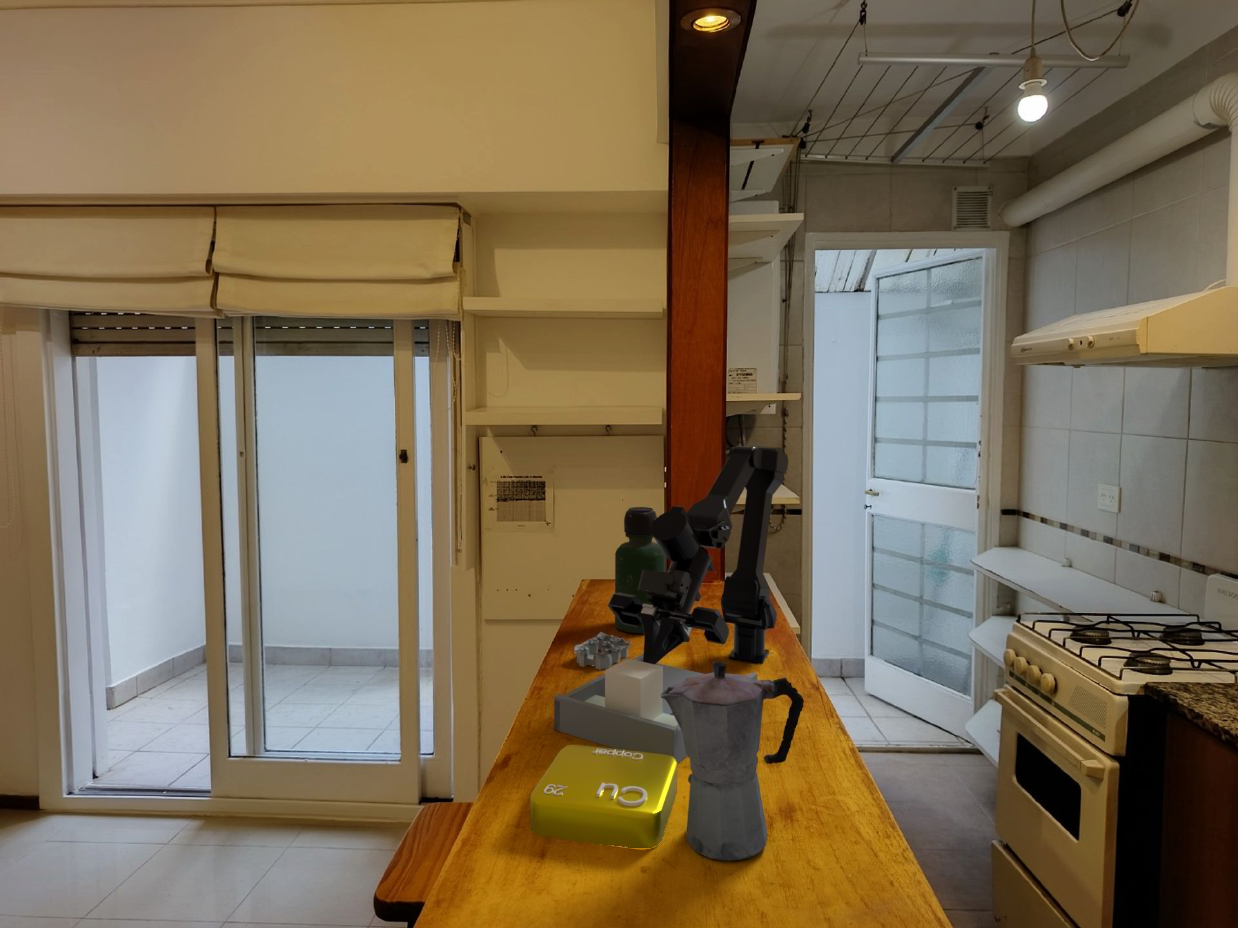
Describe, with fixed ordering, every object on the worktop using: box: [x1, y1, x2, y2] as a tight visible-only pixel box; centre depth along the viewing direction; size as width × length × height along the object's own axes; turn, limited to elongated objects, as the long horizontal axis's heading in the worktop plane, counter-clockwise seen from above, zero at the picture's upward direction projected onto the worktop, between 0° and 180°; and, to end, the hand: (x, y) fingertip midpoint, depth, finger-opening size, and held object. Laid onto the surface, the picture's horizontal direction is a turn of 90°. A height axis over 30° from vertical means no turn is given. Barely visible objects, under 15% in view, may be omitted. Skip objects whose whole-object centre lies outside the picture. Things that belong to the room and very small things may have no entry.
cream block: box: [604, 658, 663, 720], centre depth 112 cm, size 6×6×7 cm
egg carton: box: [573, 631, 632, 671], centre depth 143 cm, size 11×8×4 cm
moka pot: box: [661, 661, 805, 862], centre depth 85 cm, size 10×15×20 cm, turn 95°
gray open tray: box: [553, 653, 759, 765], centre depth 118 cm, size 26×20×5 cm
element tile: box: [529, 744, 678, 848], centre depth 92 cm, size 15×15×5 cm
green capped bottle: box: [614, 506, 667, 635], centre depth 162 cm, size 10×10×25 cm
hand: (646, 666), depth 114 cm, fingers closed, pressing on cream block
